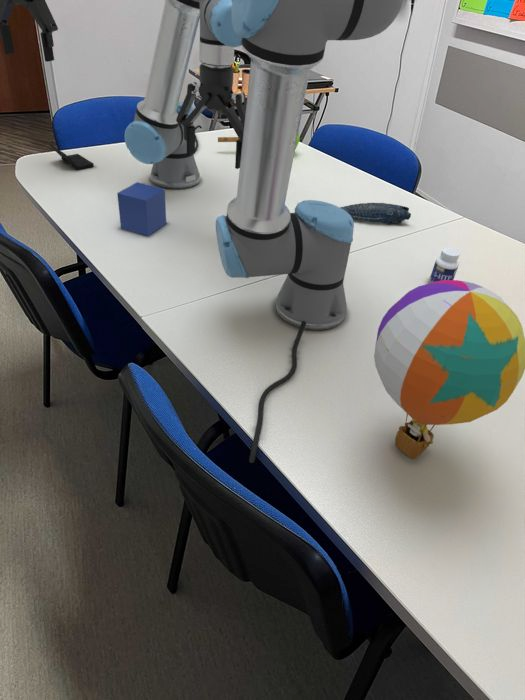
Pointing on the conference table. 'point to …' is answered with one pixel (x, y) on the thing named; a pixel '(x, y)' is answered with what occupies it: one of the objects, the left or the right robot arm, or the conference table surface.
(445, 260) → the pill bottle
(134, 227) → the block
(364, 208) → the fish model
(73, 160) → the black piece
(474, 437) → the conference table surface
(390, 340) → the toy
